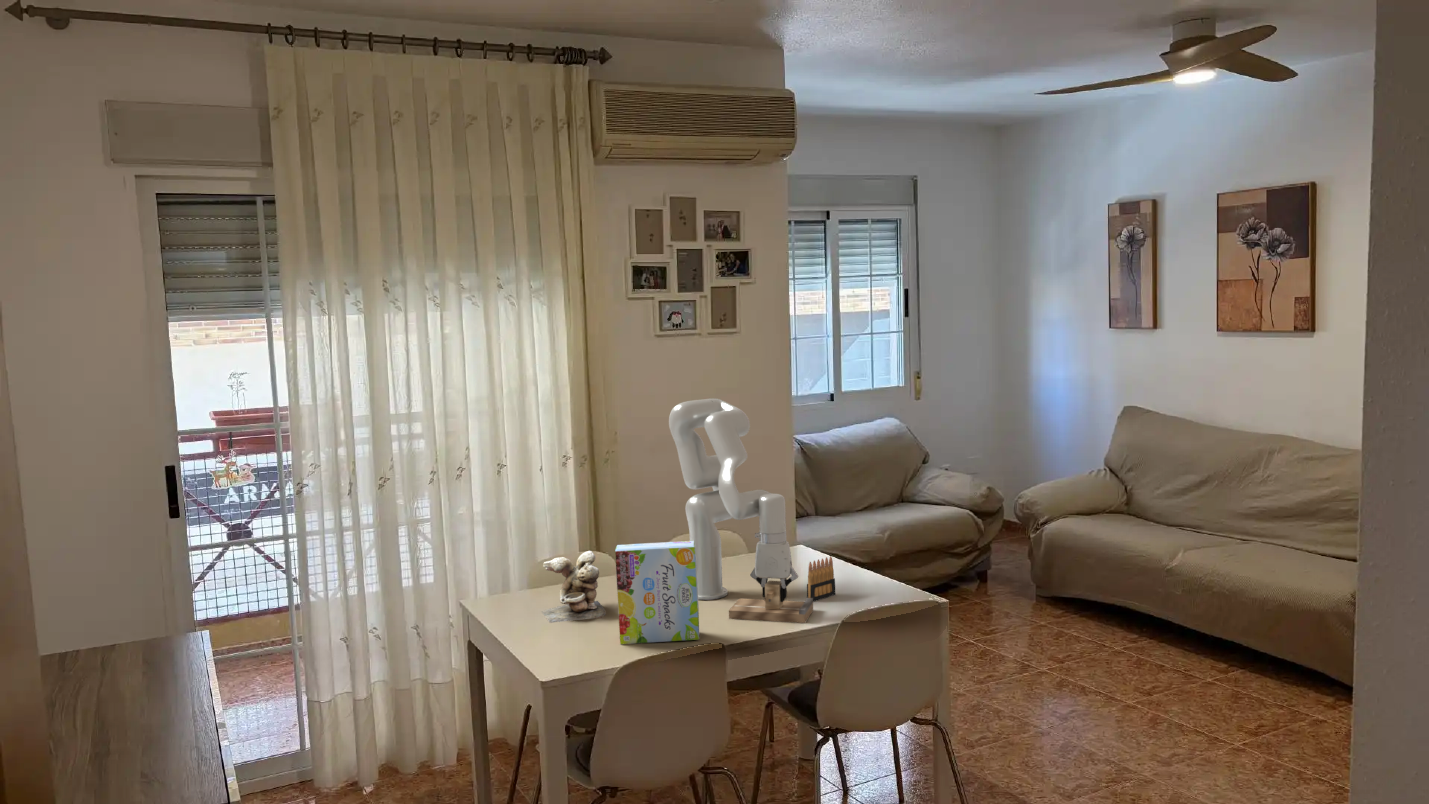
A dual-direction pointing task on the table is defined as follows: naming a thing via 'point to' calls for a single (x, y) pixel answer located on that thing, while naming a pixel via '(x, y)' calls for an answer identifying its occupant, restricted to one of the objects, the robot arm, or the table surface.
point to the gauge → (773, 595)
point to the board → (771, 611)
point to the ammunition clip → (821, 580)
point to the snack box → (657, 592)
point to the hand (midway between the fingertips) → (774, 599)
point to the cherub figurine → (576, 589)
